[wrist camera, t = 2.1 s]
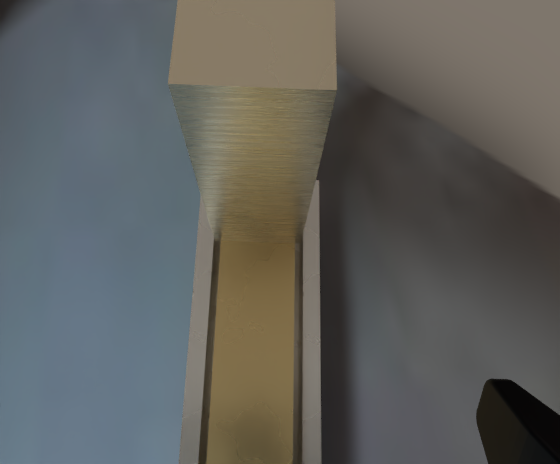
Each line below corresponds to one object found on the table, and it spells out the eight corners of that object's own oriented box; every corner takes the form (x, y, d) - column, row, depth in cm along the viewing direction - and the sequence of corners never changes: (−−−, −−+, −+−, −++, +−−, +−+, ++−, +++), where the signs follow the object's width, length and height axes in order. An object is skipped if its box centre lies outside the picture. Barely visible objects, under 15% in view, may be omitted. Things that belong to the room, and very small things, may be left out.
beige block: (294, 504, 19) (351, 691, 7) (205, 503, 19) (96, 689, 7) (296, 211, 23) (334, -7, 11) (224, 209, 23) (179, -13, 11)
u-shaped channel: (313, 536, 19) (322, 559, 17) (184, 535, 19) (170, 558, 16) (312, 206, 24) (319, 180, 21) (209, 203, 24) (202, 176, 21)
